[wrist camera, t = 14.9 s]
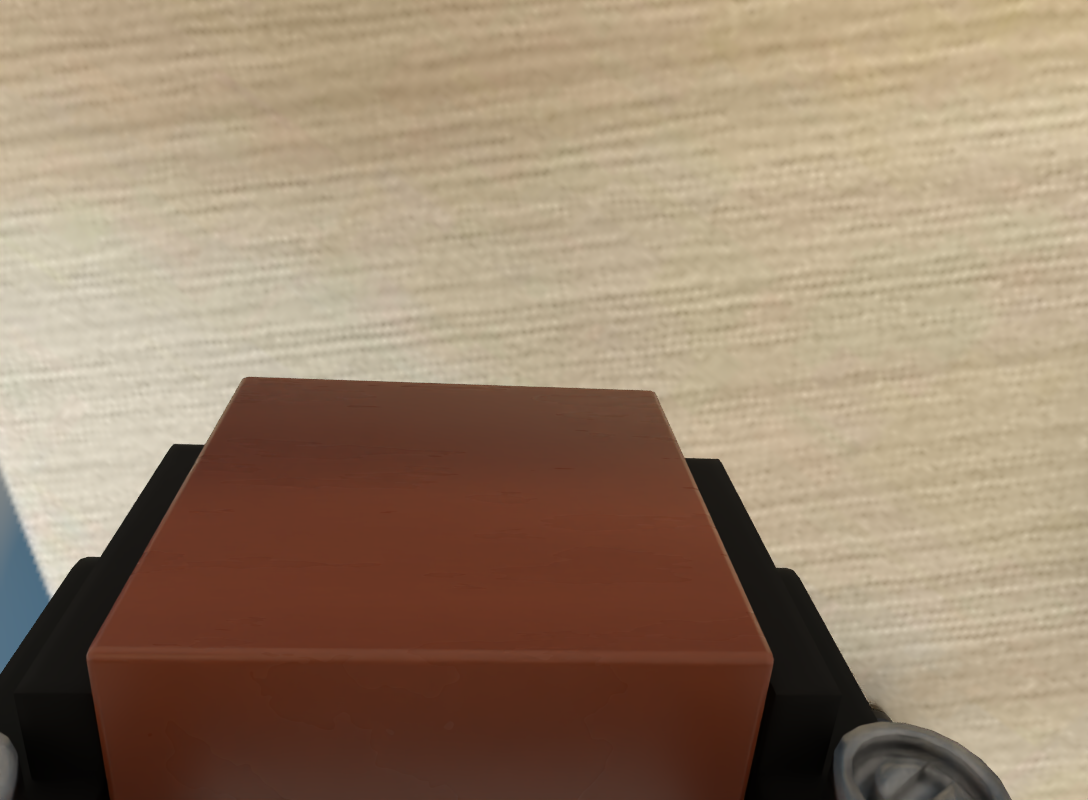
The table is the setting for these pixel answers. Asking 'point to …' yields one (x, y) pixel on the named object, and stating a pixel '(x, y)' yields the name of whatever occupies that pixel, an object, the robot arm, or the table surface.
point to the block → (432, 607)
